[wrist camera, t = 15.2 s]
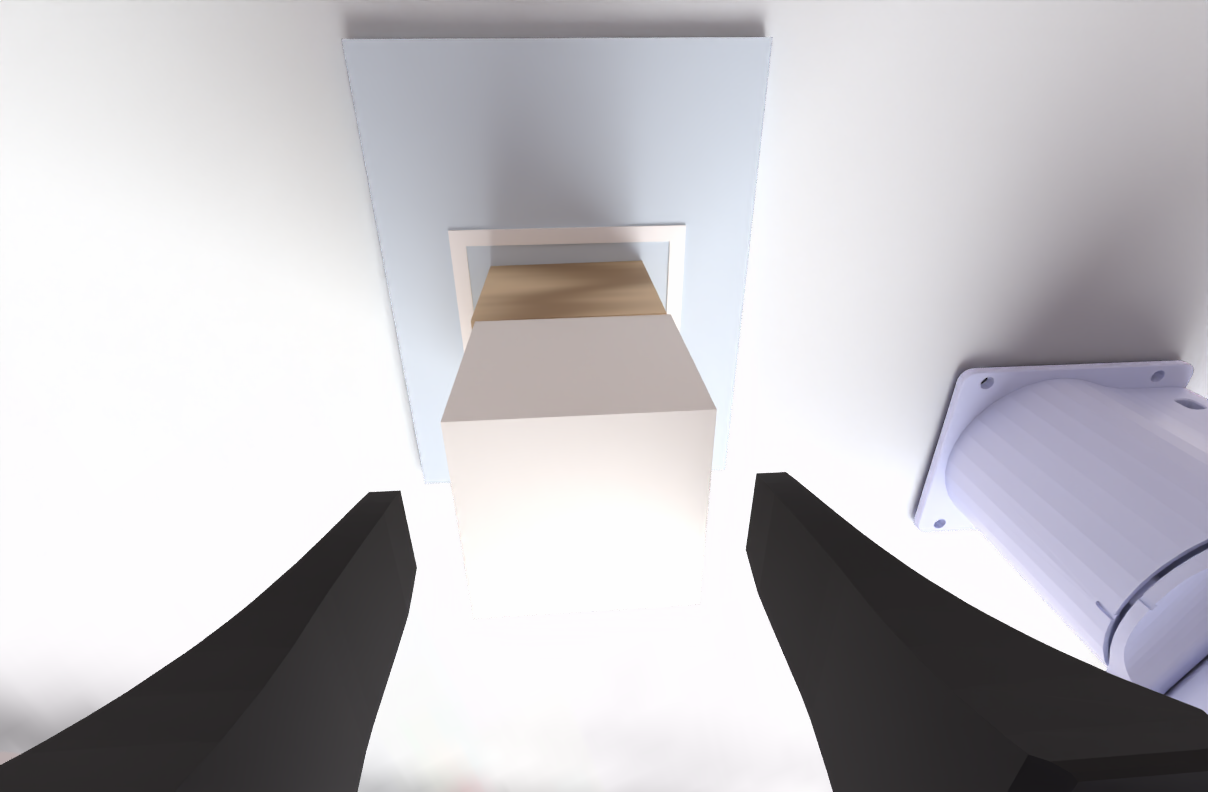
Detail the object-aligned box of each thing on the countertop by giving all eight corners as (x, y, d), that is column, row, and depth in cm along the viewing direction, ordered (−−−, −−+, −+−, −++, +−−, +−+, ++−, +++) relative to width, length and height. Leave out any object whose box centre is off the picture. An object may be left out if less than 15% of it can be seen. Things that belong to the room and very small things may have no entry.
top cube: (670, 314, 15) (717, 409, 11) (663, 472, 18) (699, 604, 13) (475, 321, 15) (440, 422, 10) (495, 481, 17) (473, 618, 13)
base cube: (642, 260, 20) (666, 312, 15) (640, 393, 22) (661, 471, 17) (490, 266, 19) (470, 320, 15) (505, 399, 22) (492, 481, 17)
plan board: (765, 38, 17) (773, 36, 17) (721, 461, 24) (725, 470, 24) (348, 39, 17) (339, 38, 16) (427, 474, 24) (424, 485, 23)
